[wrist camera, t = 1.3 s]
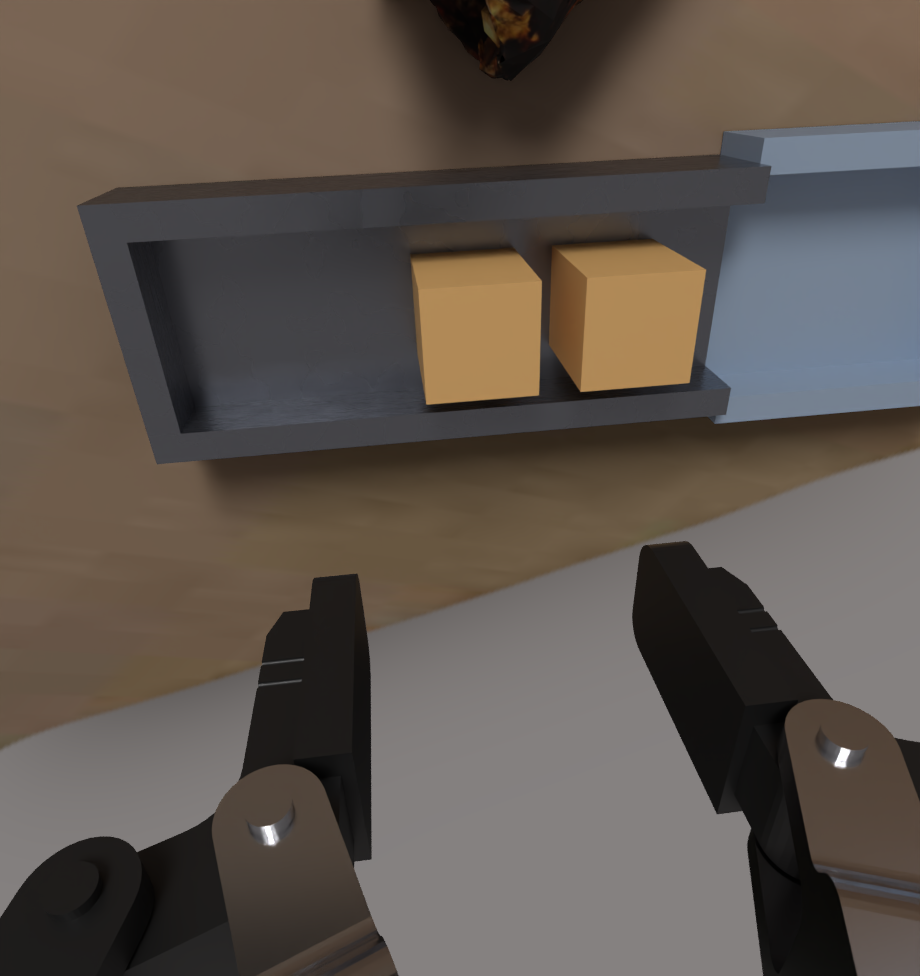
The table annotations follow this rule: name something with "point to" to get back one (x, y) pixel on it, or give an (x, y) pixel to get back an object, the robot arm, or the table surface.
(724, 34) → the table surface
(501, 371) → the tan cardboard cube
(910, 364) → the tray
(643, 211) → the rail
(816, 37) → the table surface
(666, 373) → the cardboard box
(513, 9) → the dark wooden branch
